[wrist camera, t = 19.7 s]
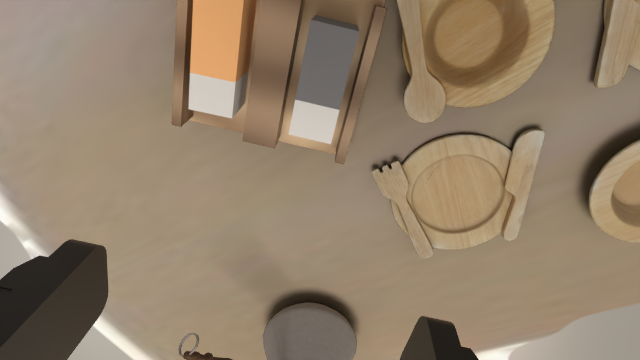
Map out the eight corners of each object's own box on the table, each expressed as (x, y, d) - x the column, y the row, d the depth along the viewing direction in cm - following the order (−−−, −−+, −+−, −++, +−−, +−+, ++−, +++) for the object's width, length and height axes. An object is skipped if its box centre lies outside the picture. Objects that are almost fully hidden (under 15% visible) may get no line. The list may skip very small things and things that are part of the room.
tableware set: (848, -151, 26) (929, -172, 22) (732, 212, 39) (772, 236, 35) (339, -31, 31) (337, -33, 28) (384, 254, 44) (388, 278, 40)
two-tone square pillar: (315, 14, 32) (310, 19, 28) (358, 25, 32) (359, 31, 28) (295, 117, 36) (288, 134, 32) (332, 126, 36) (330, 144, 32)
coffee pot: (373, 334, 49) (383, 464, 36) (303, 365, 53) (287, 493, 40) (269, 217, 42) (232, 325, 29) (195, 262, 46) (133, 377, 33)
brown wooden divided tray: (198, -48, 31) (179, -51, 27) (384, -1, 32) (388, 1, 28) (188, 115, 37) (171, 129, 34) (343, 151, 38) (342, 169, 35)
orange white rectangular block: (213, -13, 31) (193, -12, 27) (257, -3, 31) (243, -1, 27) (206, 94, 35) (188, 109, 31) (245, 103, 35) (231, 118, 31)
